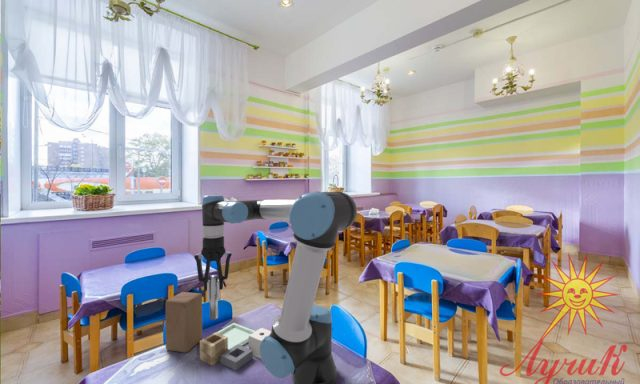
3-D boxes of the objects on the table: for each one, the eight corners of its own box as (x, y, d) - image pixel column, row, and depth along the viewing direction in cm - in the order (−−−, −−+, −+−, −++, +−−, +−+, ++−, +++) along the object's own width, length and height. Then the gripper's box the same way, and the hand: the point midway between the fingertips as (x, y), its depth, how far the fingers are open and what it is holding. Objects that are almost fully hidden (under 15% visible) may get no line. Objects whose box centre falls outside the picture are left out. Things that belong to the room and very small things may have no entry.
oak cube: (227, 355, 102) (227, 337, 102) (212, 365, 96) (211, 346, 96) (215, 349, 106) (215, 332, 106) (199, 359, 100) (199, 340, 100)
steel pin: (219, 317, 101) (219, 275, 101) (213, 320, 99) (212, 277, 99) (214, 315, 103) (214, 274, 103) (208, 318, 101) (208, 276, 100)
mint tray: (257, 335, 116) (257, 331, 116) (229, 353, 103) (229, 349, 103) (233, 326, 124) (233, 322, 124) (205, 342, 111) (205, 338, 111)
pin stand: (252, 358, 100) (252, 350, 100) (235, 370, 94) (235, 362, 94) (237, 351, 105) (237, 344, 105) (220, 363, 98) (220, 355, 98)
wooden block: (187, 354, 103) (186, 302, 103) (164, 350, 105) (164, 300, 105) (203, 339, 113) (203, 292, 113) (182, 337, 115) (182, 290, 115)
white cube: (274, 349, 106) (274, 332, 106) (262, 359, 100) (262, 340, 100) (261, 344, 110) (261, 327, 109) (248, 353, 104) (248, 335, 103)
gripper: (236, 233, 106) (236, 292, 106) (192, 235, 102) (193, 296, 103) (234, 237, 99) (235, 300, 99) (188, 239, 95) (188, 304, 95)
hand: (213, 298), depth 101 cm, fingers closed on steel pin, 3 cm apart
